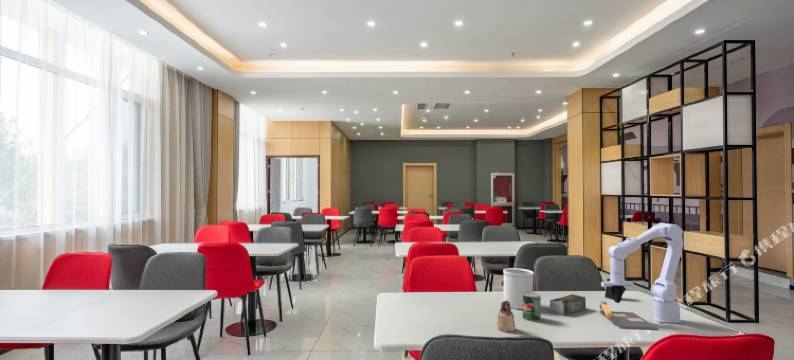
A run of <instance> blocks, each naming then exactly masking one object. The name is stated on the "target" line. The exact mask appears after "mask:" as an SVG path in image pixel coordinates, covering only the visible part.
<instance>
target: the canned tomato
mask: <svg viewBox="0 0 794 360" xmlns="http://www.w3.org/2000/svg"><path fill="white" fill-rule="evenodd" d="M541 296H542V294H541V293H537V292H524V293H523V309H522V319H523V320H525V321H528V322H540V321H541V318H542V317H541V316H542V315H541V311H542V309H541V307H542V306H541V305H542V304H541V303H542V302H541V300H542V297H541Z"/></svg>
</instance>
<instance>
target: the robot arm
mask: <svg viewBox="0 0 794 360" xmlns="http://www.w3.org/2000/svg"><path fill="white" fill-rule="evenodd" d="M683 233H684V231H683V229H682V228H681V227H680V226H679V225H678V224H675V223H665V222H659V223H657V224H654V225H653V226H652V227H650V228H649V229H647V230H645V231H644V232H643V233H641V234H639V235H638V236H637V237H628V236H627V238H625V240H623V241H622V242H621V243H620V242H618V243H617V244H616V245H612V246H610V247H609V249H608V250H607V252H606V253H607V255H608V256H609V265H610V267H609V279H610V281H607V280H606V281H601V282H600V287H602V288H606V287H609V288H610V290H611V292H612V294H613V297H614V298H613V301H614V303H616V304H620V303H621V301H622V299H623V294H624V293H625V291H626V290H627V287H634V282H633V281H629V280H628V281H627V280H625V259H626V258H627V257H628V255H630V254H631V253H634V252H635V251H637V250H639V249H640V248H641V245H642V244H644V243H646V242H648V241H651V240H652V239H655V238H656V237H657V238H661V239H663V240H664V241H665V243H666V244H667V247H666V248H667V249H666V252H665V256H664V260H663V264H662V267H661V270H660V271H661V272H660V274H659V277H658V278H656V279H655V281H654V284H652V285H651V287H650V293H651V295H652V296H653V311H654V312H653V315H649V318H652V319H653V320H655V321H656V322H658V323H666V324H667V323H669V324H681V323H682V322H681V308H680V307H681V306H680V303H678V301H676V300H677V296H678V293H677V288H678V287H677V285H676V283H675V278H676V274H677V272H678V266H679V263H680V258H681V255H682V252H683V247H684V238H683ZM621 298H622V299H621Z"/></svg>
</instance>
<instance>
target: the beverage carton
mask: <svg viewBox="0 0 794 360" xmlns="http://www.w3.org/2000/svg"><path fill="white" fill-rule="evenodd" d="M586 303H587V302H586V296H581V295H577V294H568V295H564V296H562V297H558V298H554V299H553V298H552V299H551V300H549V310H550V313H553V314H557V315H561V316H567V315H570V314H571V315H572V314H575V313H577V312H581V311H584V310H587V309H586V308H587V304H586Z"/></svg>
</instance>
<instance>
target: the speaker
mask: <svg viewBox="0 0 794 360" xmlns="http://www.w3.org/2000/svg"><path fill="white" fill-rule="evenodd" d="M606 281H610V278H606ZM604 297H605V298H607V299H610V300H613V301H614V297H613V294H612V292H611V290H610V288H609V287H605V294H604ZM622 299H623V297H622V298H621V300H622Z"/></svg>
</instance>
